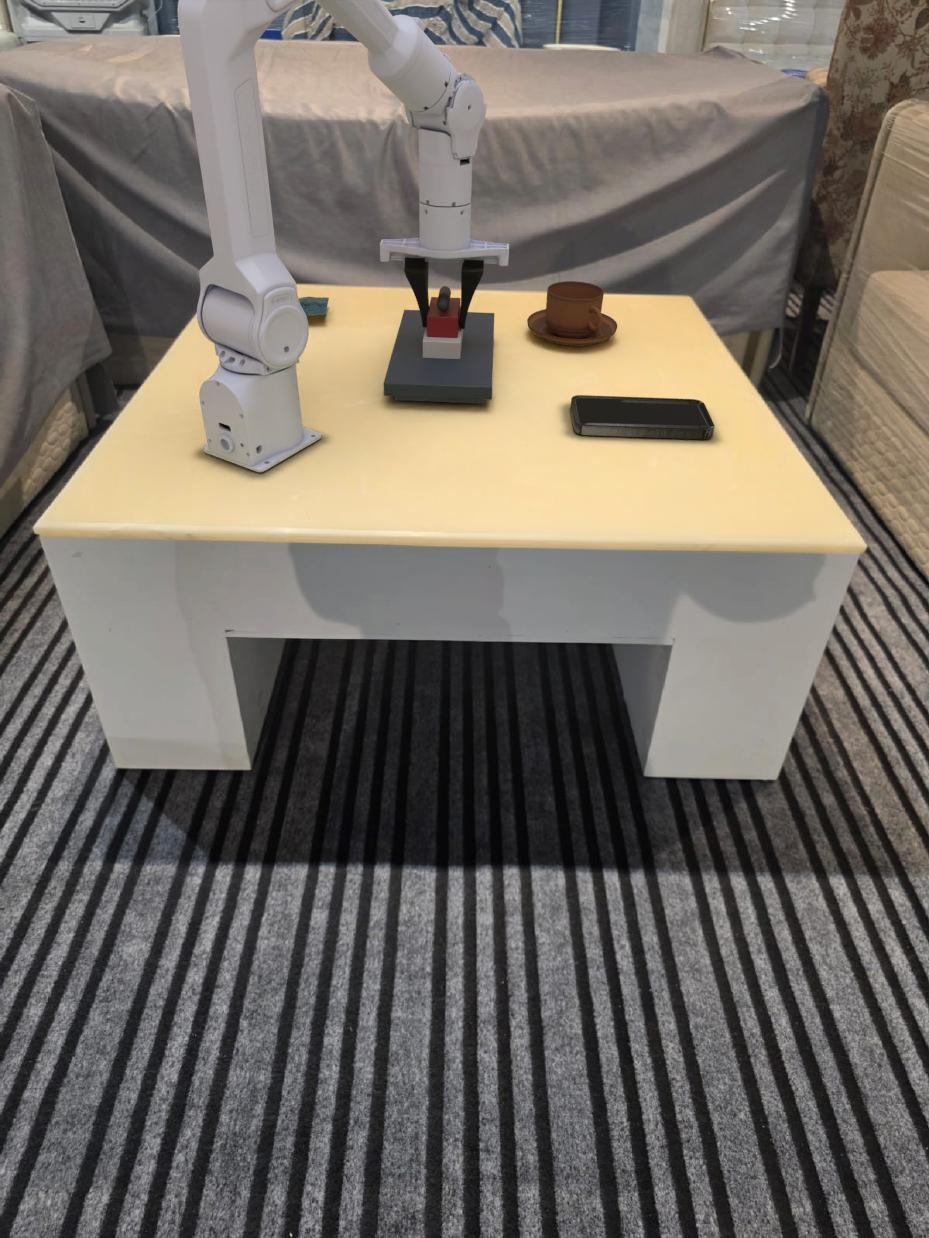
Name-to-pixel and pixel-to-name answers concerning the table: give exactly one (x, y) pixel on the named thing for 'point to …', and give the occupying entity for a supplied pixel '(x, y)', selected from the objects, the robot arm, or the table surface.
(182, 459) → the table surface
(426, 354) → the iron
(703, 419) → the phone
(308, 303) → the terrain model
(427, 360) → the grey base platform
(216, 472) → the table surface
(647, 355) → the table surface
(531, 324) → the cup and saucer
